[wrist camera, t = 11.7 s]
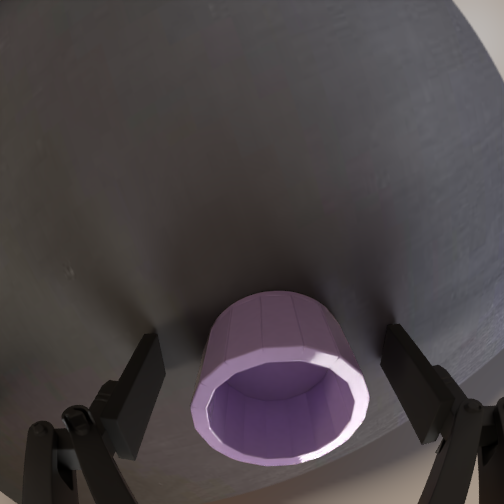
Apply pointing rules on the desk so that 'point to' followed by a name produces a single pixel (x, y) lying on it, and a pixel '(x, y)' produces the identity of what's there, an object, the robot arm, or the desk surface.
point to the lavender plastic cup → (278, 381)
